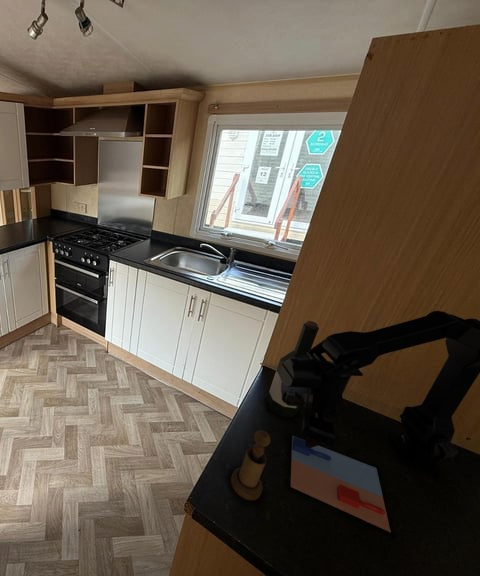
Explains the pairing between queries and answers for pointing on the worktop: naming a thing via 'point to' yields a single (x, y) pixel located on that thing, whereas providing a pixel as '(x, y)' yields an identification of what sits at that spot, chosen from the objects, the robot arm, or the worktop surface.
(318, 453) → the blue spoon
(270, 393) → the wine bottle
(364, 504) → the red spoon
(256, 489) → the mortar and pestle
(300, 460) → the sorting board
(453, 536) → the worktop surface
